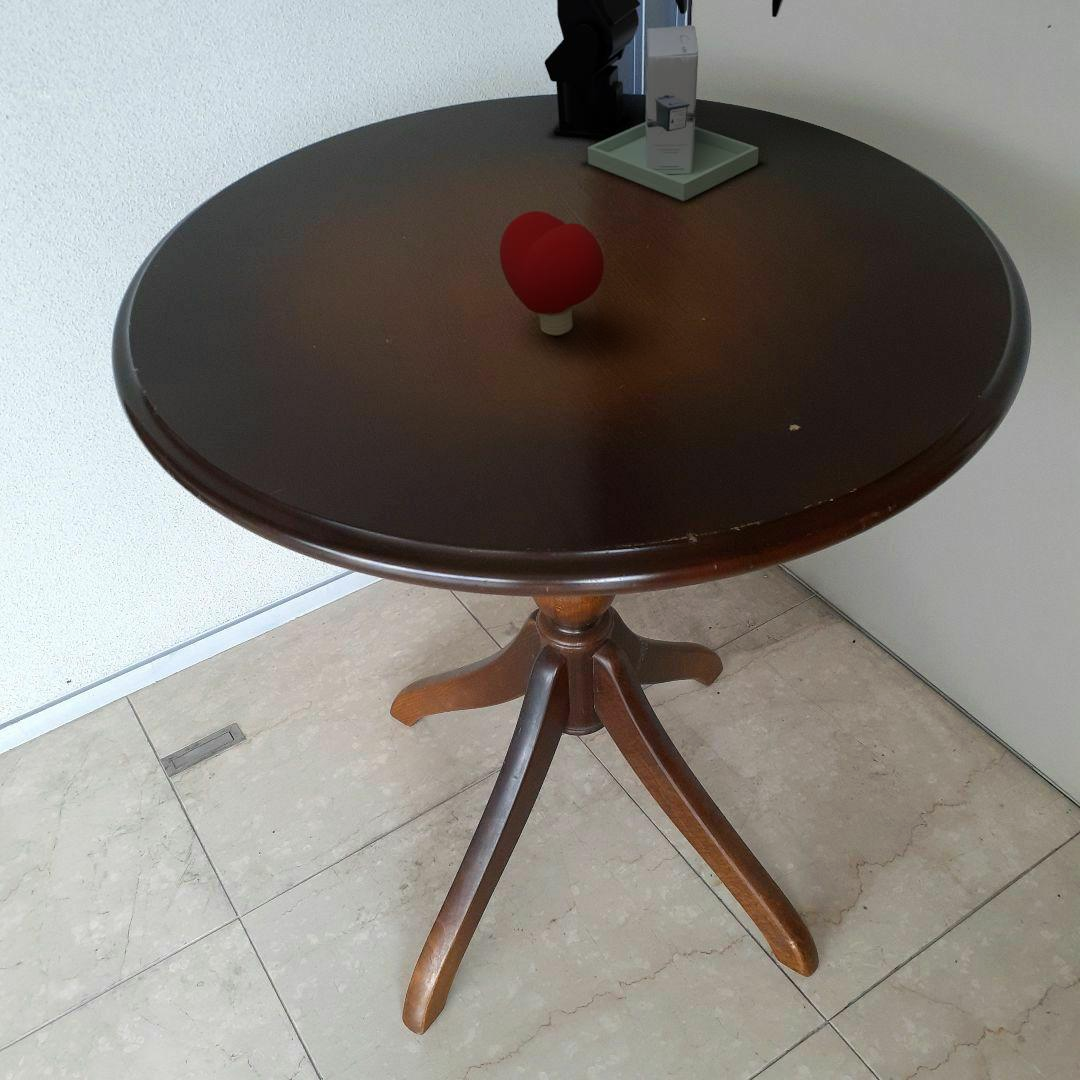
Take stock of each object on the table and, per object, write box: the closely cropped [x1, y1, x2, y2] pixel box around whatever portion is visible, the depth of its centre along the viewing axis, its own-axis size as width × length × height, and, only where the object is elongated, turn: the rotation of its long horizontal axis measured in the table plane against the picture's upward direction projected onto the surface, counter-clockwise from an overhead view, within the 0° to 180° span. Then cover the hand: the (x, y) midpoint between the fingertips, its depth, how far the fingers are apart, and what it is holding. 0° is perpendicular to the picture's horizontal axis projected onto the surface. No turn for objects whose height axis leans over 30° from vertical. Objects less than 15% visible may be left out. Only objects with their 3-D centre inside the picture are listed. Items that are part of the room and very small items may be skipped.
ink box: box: [645, 24, 699, 174], centre depth 104 cm, size 9×5×12 cm, turn 176°
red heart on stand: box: [499, 210, 605, 338], centre depth 82 cm, size 9×7×10 cm
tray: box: [587, 121, 760, 202], centre depth 107 cm, size 14×11×2 cm
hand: (728, 14), depth 102 cm, fingers open, 9 cm apart
